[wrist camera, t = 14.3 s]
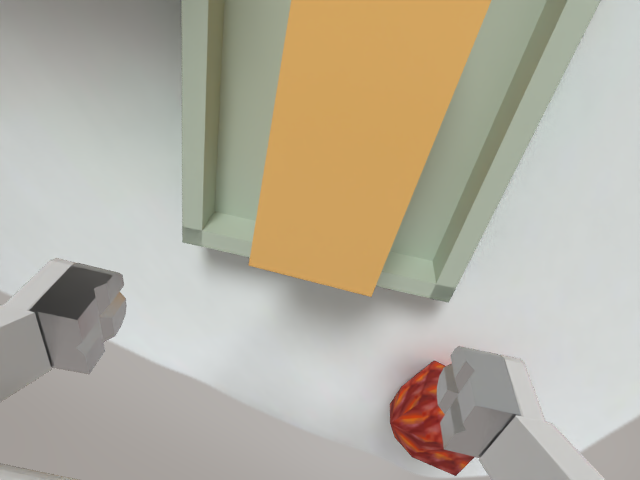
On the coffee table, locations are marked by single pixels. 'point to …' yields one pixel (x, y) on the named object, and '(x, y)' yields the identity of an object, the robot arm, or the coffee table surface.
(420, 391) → the red bumpy oval lump
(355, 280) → the orange rectangular block
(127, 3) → the coffee table surface
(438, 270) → the tray
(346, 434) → the coffee table surface
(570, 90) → the coffee table surface
